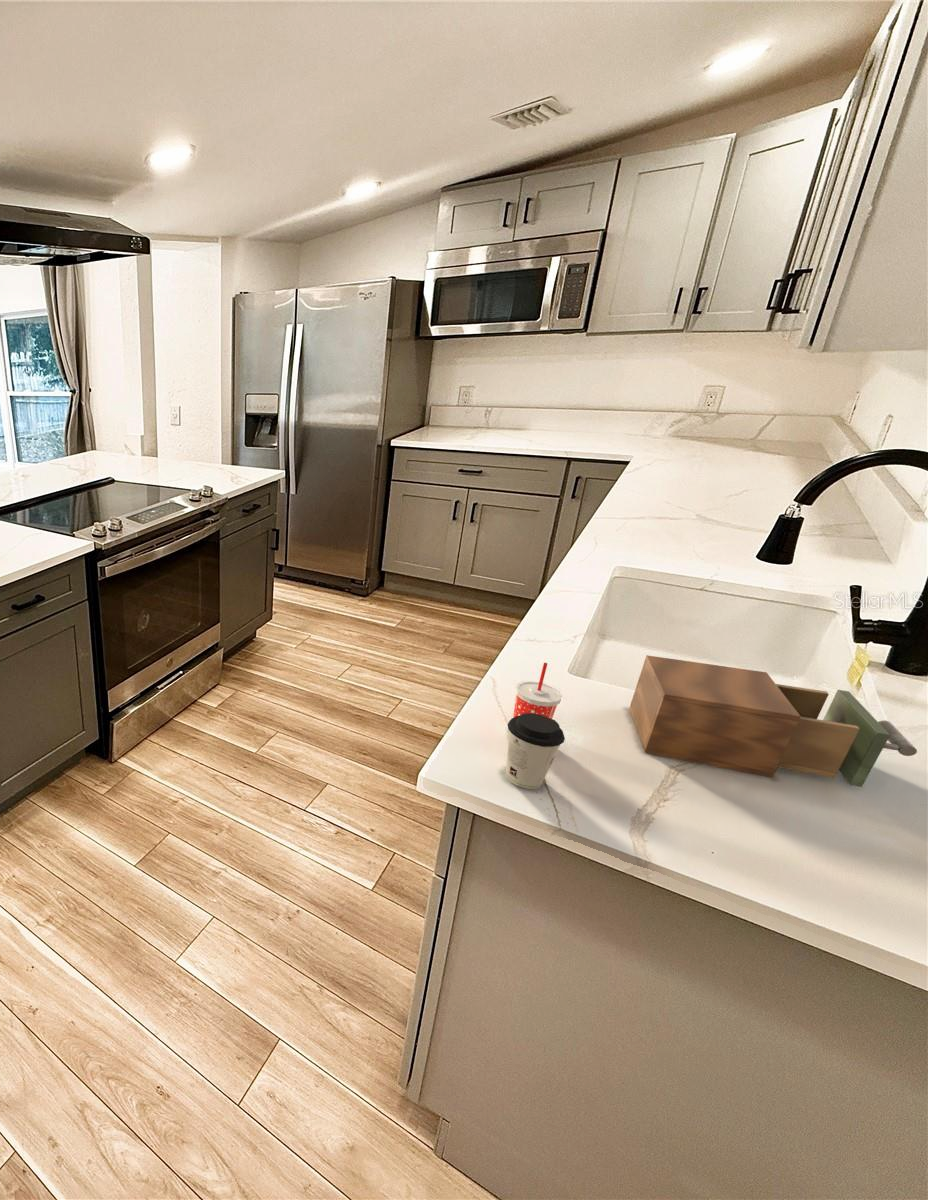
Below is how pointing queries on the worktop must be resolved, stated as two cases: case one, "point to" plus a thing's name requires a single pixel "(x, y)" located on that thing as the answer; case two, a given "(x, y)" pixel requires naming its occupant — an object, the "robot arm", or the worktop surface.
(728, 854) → the worktop surface
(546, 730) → the coffee cup
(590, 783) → the worktop surface
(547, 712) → the beverage cup
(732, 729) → the cabinet
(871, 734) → the drawer
